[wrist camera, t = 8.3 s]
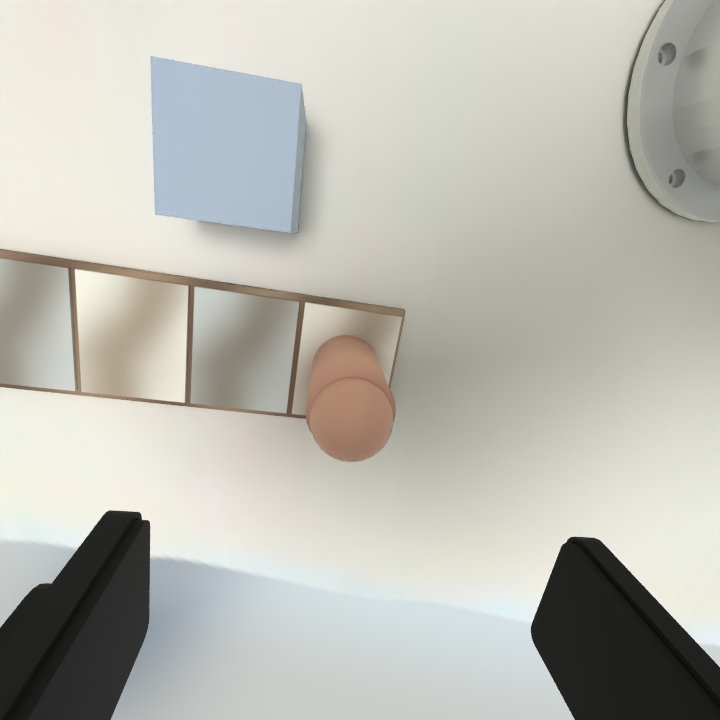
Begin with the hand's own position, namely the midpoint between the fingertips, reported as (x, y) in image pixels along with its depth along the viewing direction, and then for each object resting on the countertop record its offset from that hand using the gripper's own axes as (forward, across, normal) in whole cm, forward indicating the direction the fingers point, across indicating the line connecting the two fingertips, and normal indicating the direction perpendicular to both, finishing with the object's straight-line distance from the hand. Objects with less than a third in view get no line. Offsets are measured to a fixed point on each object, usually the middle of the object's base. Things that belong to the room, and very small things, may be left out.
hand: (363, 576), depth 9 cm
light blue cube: (+14, +5, -10) cm, 18 cm away
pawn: (+13, -1, 0) cm, 13 cm away
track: (+14, +8, 0) cm, 16 cm away
